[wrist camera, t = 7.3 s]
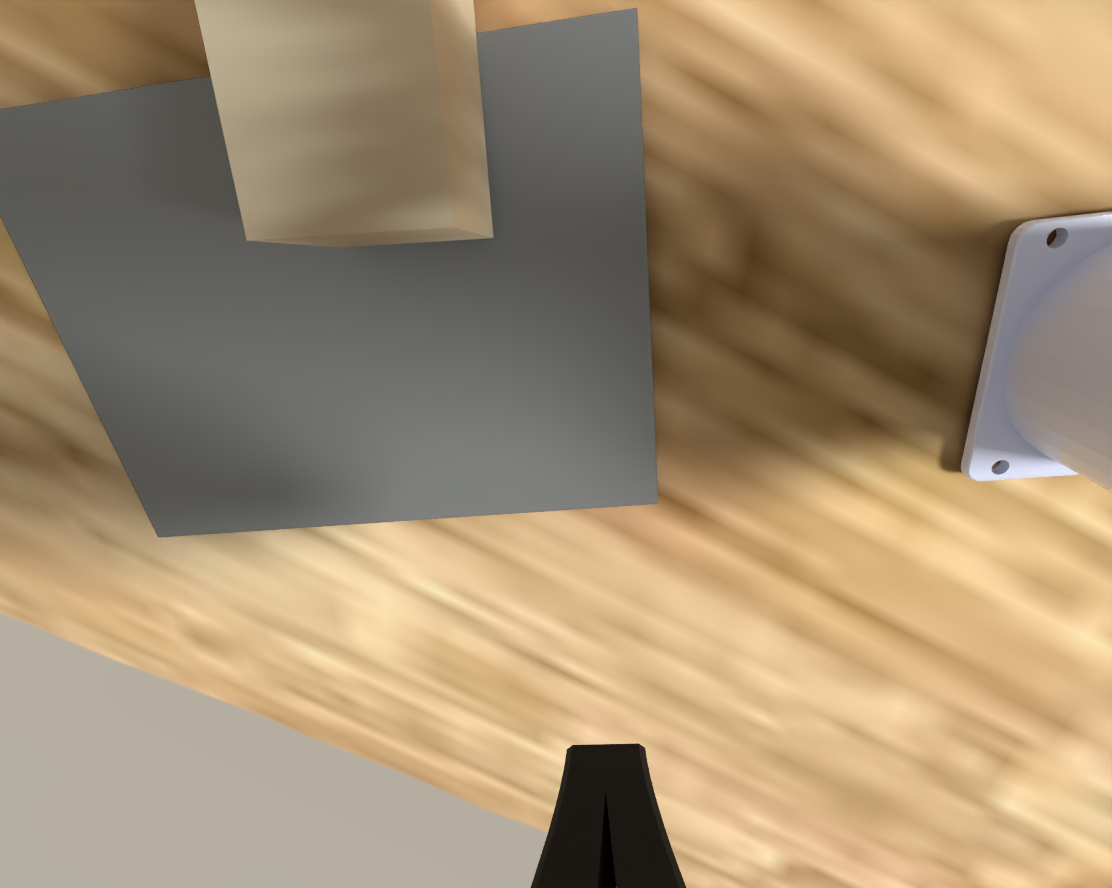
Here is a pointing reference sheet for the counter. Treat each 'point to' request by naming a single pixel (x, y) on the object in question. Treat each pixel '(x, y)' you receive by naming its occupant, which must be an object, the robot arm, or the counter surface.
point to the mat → (356, 307)
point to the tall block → (351, 119)
